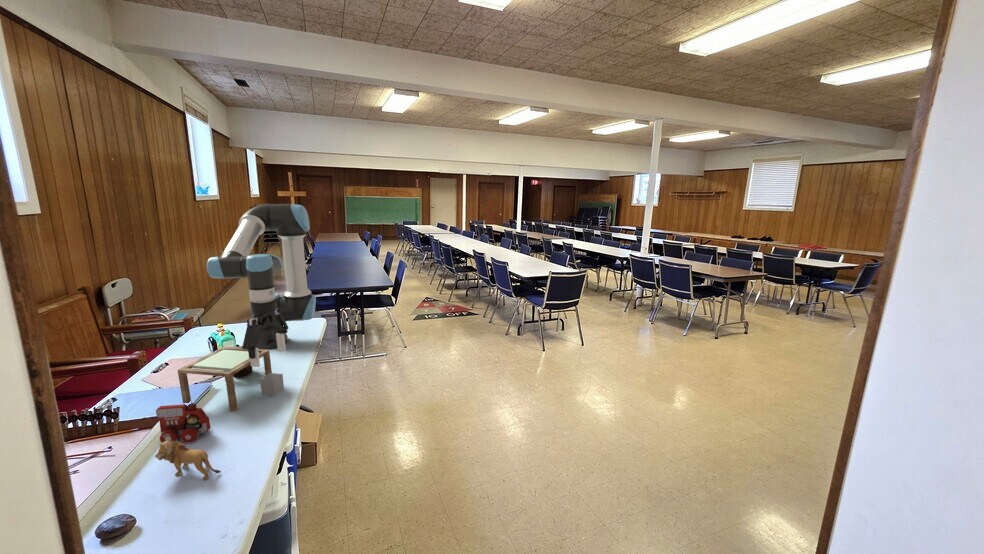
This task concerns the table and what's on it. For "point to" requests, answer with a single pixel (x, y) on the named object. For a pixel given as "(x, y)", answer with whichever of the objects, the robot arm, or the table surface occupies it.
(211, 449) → the table surface
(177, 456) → the lion figurine
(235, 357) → the hatch
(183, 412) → the toy fire truck
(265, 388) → the cube
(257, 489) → the table surface
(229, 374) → the frame
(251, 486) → the table surface
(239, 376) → the coffee mug
